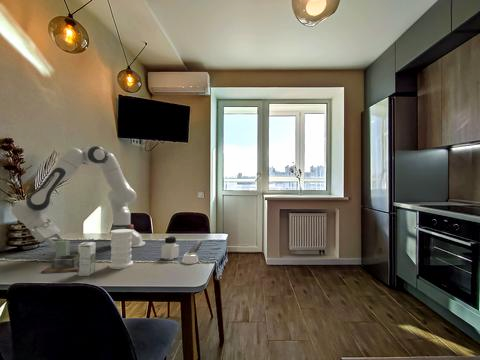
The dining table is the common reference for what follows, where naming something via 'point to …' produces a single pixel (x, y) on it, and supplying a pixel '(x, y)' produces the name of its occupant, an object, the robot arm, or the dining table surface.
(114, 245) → the decorative container
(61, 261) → the collar stand
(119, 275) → the dining table surface
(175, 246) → the medicine bottle
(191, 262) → the inkwell
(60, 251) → the square peg
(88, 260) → the syrup box
